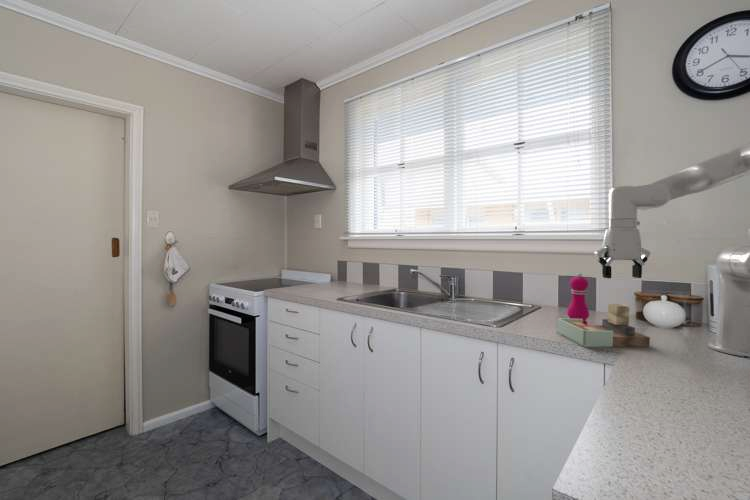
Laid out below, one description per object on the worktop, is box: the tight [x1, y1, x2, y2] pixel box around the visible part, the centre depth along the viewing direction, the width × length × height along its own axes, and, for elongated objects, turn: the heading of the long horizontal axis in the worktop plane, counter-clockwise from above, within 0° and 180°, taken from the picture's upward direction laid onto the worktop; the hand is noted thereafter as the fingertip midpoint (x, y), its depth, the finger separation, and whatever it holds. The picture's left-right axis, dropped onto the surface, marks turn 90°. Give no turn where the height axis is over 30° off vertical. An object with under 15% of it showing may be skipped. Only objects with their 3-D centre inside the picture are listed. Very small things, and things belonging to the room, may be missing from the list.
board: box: [586, 324, 651, 348], centre depth 114 cm, size 12×14×3 cm
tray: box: [556, 317, 613, 348], centre depth 114 cm, size 9×16×5 cm, turn 0°
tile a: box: [583, 327, 598, 331], centre depth 111 cm, size 4×4×2 cm
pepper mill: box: [566, 272, 590, 325], centre depth 132 cm, size 7×7×20 cm
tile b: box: [572, 322, 586, 329], centre depth 117 cm, size 4×4×2 cm
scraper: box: [601, 303, 636, 336], centre depth 114 cm, size 4×11×8 cm, turn 0°
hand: (621, 277), depth 113 cm, fingers open, 9 cm apart
